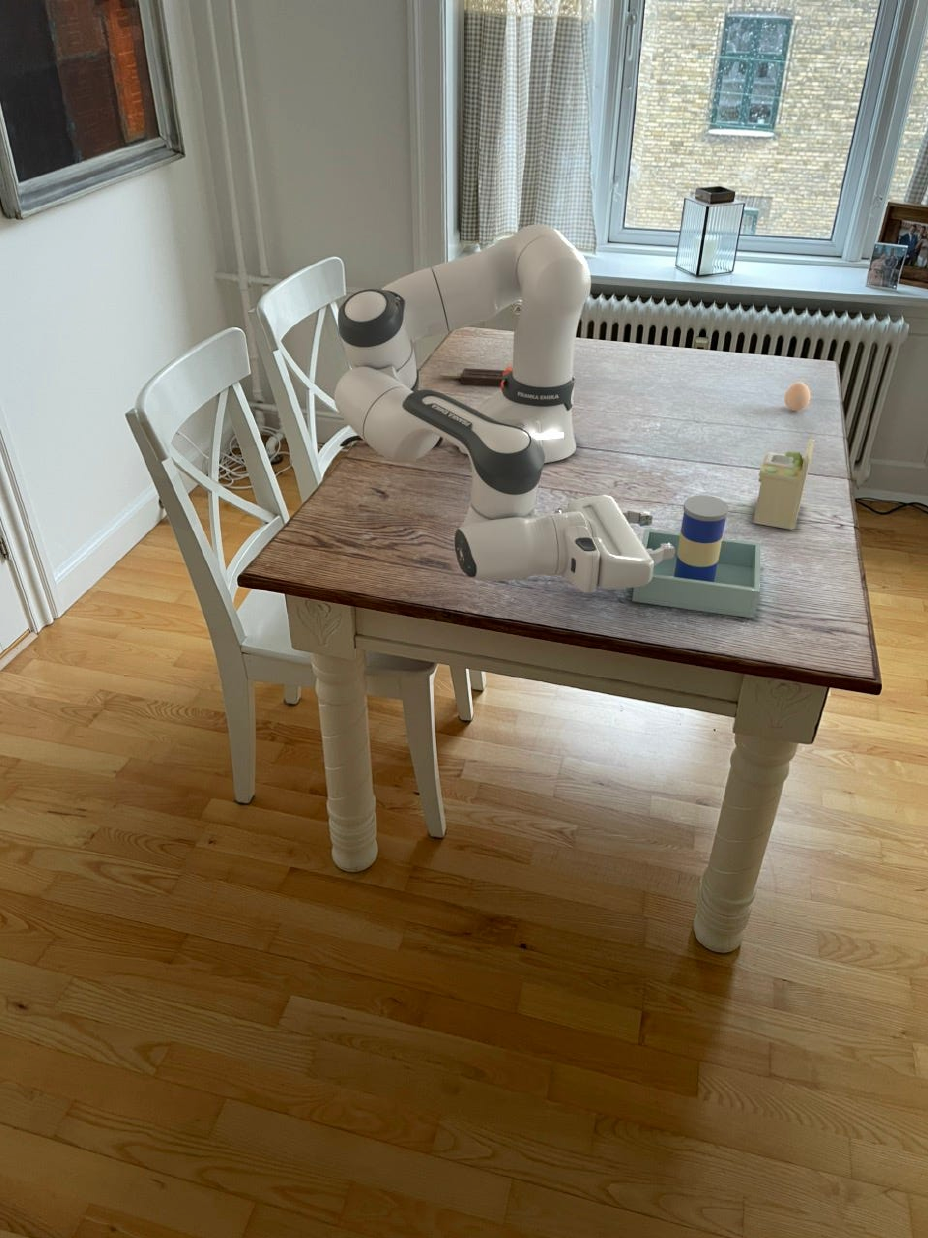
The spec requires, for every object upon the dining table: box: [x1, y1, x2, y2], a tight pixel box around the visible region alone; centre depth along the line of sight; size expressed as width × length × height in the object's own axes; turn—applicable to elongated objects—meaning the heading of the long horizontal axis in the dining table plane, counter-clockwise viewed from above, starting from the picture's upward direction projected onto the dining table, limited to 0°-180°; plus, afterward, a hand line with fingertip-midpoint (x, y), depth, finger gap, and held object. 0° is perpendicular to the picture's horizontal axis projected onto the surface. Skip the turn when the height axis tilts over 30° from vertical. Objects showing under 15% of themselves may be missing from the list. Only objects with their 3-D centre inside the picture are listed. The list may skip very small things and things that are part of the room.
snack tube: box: [674, 494, 730, 582], centre depth 142 cm, size 6×6×13 cm
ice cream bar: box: [440, 367, 505, 387], centre depth 212 cm, size 5×2×15 cm
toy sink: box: [753, 439, 816, 531], centre depth 160 cm, size 8×7×13 cm
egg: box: [783, 381, 811, 412], centre depth 197 cm, size 5×5×6 cm
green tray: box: [632, 528, 762, 619], centre depth 145 cm, size 18×14×5 cm
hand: (661, 533), depth 140 cm, fingers open, 8 cm apart
